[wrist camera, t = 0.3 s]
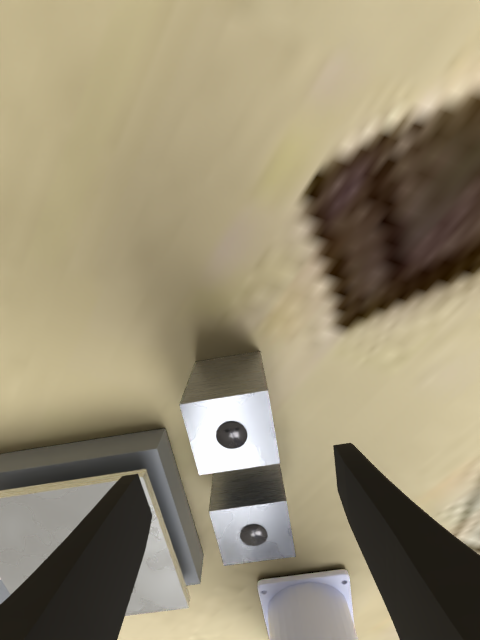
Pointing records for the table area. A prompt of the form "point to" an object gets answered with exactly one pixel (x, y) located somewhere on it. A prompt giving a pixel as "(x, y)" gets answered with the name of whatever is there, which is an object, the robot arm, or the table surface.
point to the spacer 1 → (229, 414)
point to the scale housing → (110, 459)
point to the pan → (63, 517)
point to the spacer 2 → (251, 515)
